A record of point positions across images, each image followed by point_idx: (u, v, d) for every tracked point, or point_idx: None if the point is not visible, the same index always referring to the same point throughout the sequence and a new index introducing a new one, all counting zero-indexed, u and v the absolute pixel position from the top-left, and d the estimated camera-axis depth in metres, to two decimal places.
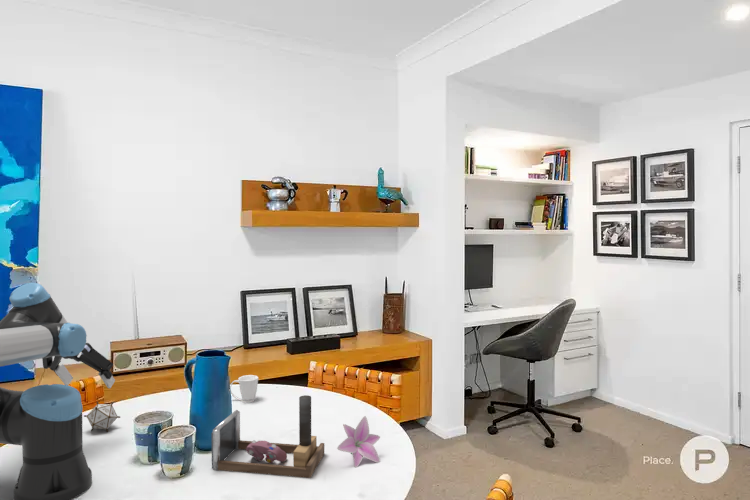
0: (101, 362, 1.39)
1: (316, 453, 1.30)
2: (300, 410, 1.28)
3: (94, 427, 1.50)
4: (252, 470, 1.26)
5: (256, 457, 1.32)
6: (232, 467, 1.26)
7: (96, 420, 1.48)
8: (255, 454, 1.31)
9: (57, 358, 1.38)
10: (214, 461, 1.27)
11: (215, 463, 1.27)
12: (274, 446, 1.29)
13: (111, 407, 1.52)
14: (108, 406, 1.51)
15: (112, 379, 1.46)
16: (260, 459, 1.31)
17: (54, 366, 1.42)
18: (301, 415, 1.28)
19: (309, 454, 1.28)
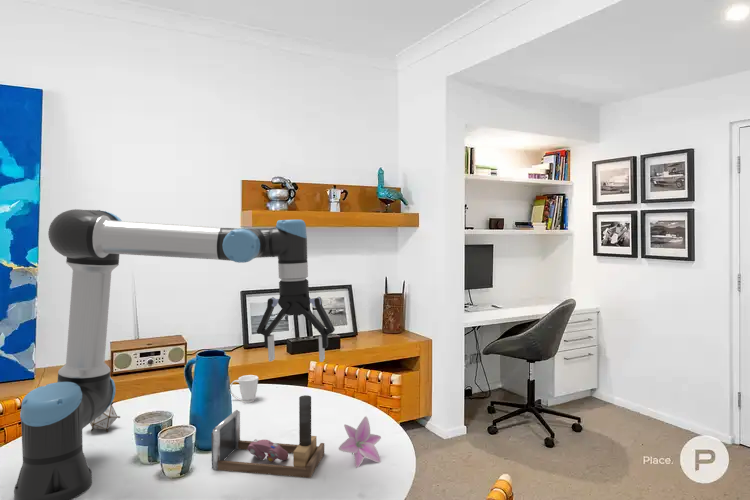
0: (328, 320, 1.31)
1: (316, 453, 1.30)
2: (300, 410, 1.28)
3: (94, 427, 1.50)
4: (252, 470, 1.26)
5: (257, 456, 1.32)
6: (232, 467, 1.26)
7: (96, 420, 1.48)
8: (257, 453, 1.32)
9: (283, 312, 1.31)
10: (214, 461, 1.27)
11: (215, 463, 1.27)
12: (275, 445, 1.30)
13: (111, 407, 1.52)
14: None
15: (324, 354, 1.33)
16: (261, 458, 1.32)
17: (270, 329, 1.32)
18: (301, 415, 1.28)
19: (309, 454, 1.28)
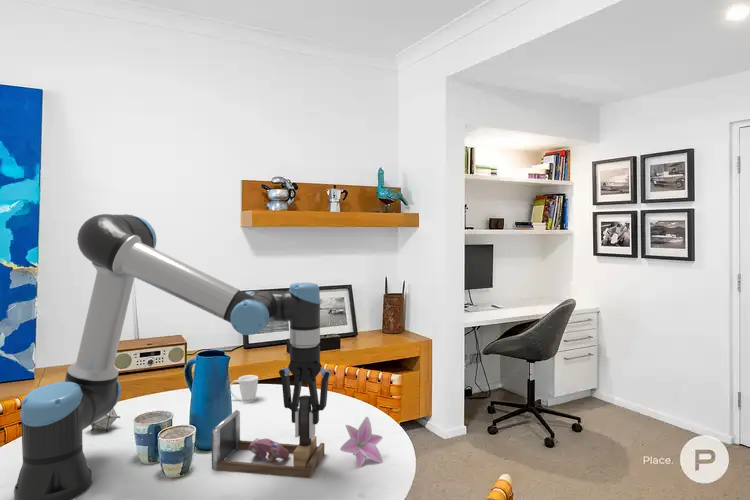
0: (325, 397, 1.28)
1: (316, 453, 1.30)
2: (300, 410, 1.28)
3: (94, 427, 1.50)
4: (252, 470, 1.26)
5: (259, 455, 1.33)
6: (232, 467, 1.26)
7: None
8: (258, 452, 1.32)
9: (297, 380, 1.28)
10: (214, 461, 1.27)
11: (215, 463, 1.27)
12: (277, 444, 1.31)
13: None
14: None
15: (314, 430, 1.30)
16: (263, 457, 1.33)
17: (295, 401, 1.29)
18: (301, 415, 1.28)
19: (309, 454, 1.28)
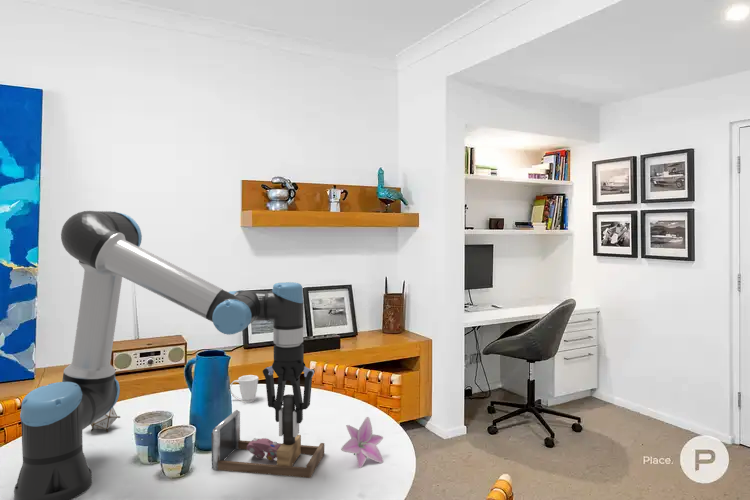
0: (308, 396, 1.29)
1: (316, 453, 1.30)
2: (284, 409, 1.29)
3: (94, 427, 1.50)
4: (252, 470, 1.26)
5: (257, 455, 1.33)
6: (232, 467, 1.26)
7: (96, 420, 1.48)
8: (256, 452, 1.32)
9: (281, 379, 1.28)
10: (214, 461, 1.27)
11: (215, 463, 1.27)
12: (275, 443, 1.31)
13: None
14: None
15: (298, 429, 1.31)
16: (261, 457, 1.33)
17: (279, 400, 1.29)
18: (285, 414, 1.29)
19: (293, 453, 1.29)
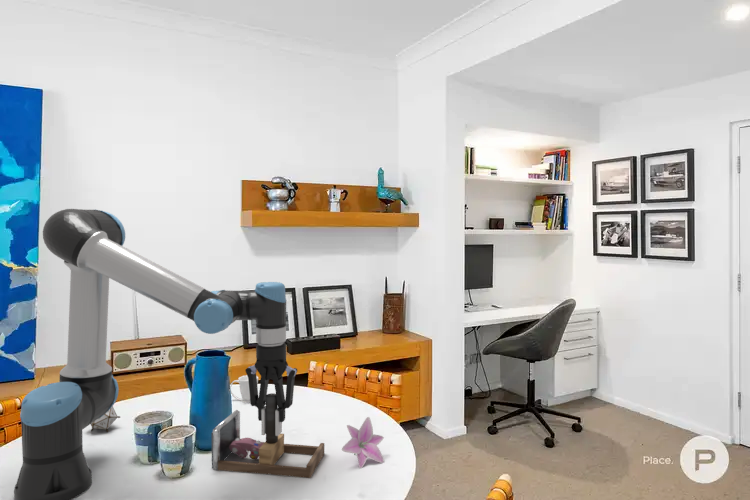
0: (291, 395, 1.29)
1: (316, 453, 1.30)
2: (267, 408, 1.30)
3: (94, 427, 1.50)
4: (252, 470, 1.26)
5: (239, 454, 1.33)
6: (232, 467, 1.26)
7: (96, 420, 1.48)
8: (239, 451, 1.32)
9: (263, 378, 1.29)
10: (214, 461, 1.27)
11: (215, 463, 1.27)
12: (259, 442, 1.31)
13: (111, 407, 1.52)
14: None
15: (281, 427, 1.32)
16: (244, 456, 1.33)
17: (261, 399, 1.30)
18: (267, 413, 1.30)
19: (275, 451, 1.30)
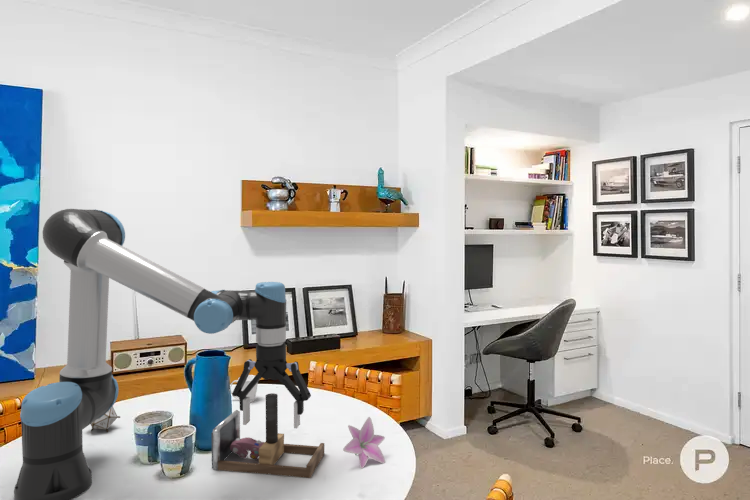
0: (303, 386, 1.29)
1: (316, 453, 1.30)
2: (267, 408, 1.30)
3: (94, 427, 1.50)
4: (252, 470, 1.26)
5: (240, 454, 1.33)
6: (232, 467, 1.26)
7: (96, 420, 1.48)
8: (239, 451, 1.33)
9: (258, 376, 1.29)
10: (214, 461, 1.27)
11: (215, 463, 1.27)
12: (259, 442, 1.32)
13: (111, 407, 1.52)
14: None
15: (299, 420, 1.31)
16: (244, 456, 1.33)
17: (246, 392, 1.31)
18: (267, 413, 1.30)
19: (275, 451, 1.30)
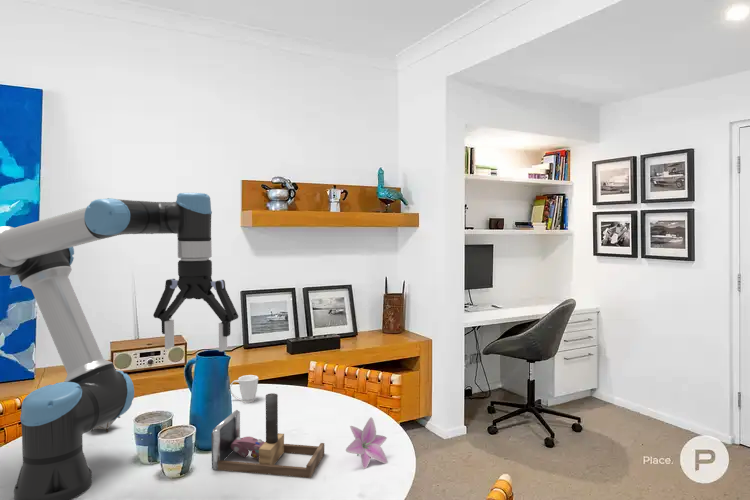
0: (229, 306, 1.18)
1: (316, 453, 1.30)
2: (267, 408, 1.30)
3: None
4: (252, 470, 1.26)
5: (241, 453, 1.34)
6: (232, 467, 1.26)
7: None
8: (240, 450, 1.33)
9: (181, 295, 1.19)
10: (214, 461, 1.27)
11: (215, 463, 1.27)
12: (260, 441, 1.32)
13: None
14: None
15: (226, 344, 1.20)
16: (245, 455, 1.34)
17: (168, 313, 1.20)
18: (267, 413, 1.30)
19: (275, 451, 1.30)
